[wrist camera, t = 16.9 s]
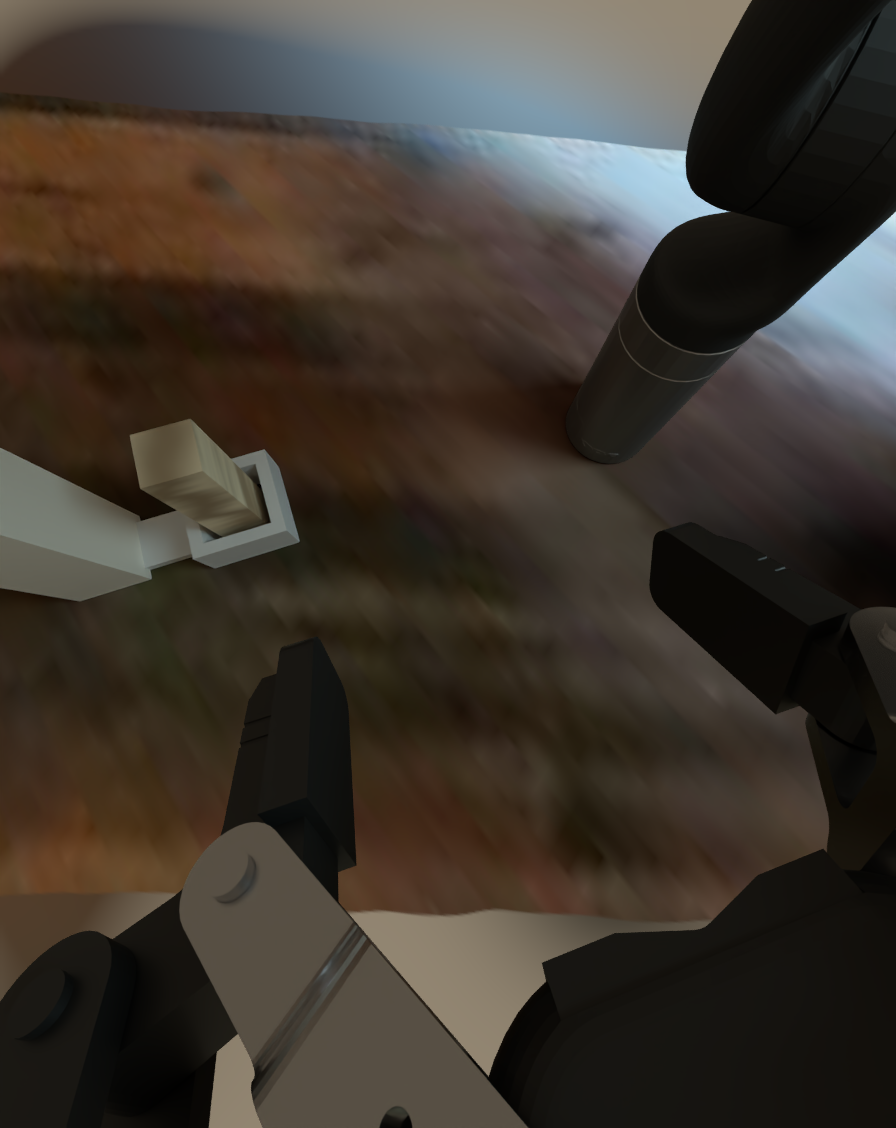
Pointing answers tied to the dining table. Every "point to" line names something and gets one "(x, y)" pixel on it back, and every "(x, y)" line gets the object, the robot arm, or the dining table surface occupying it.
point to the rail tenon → (197, 478)
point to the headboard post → (115, 533)
